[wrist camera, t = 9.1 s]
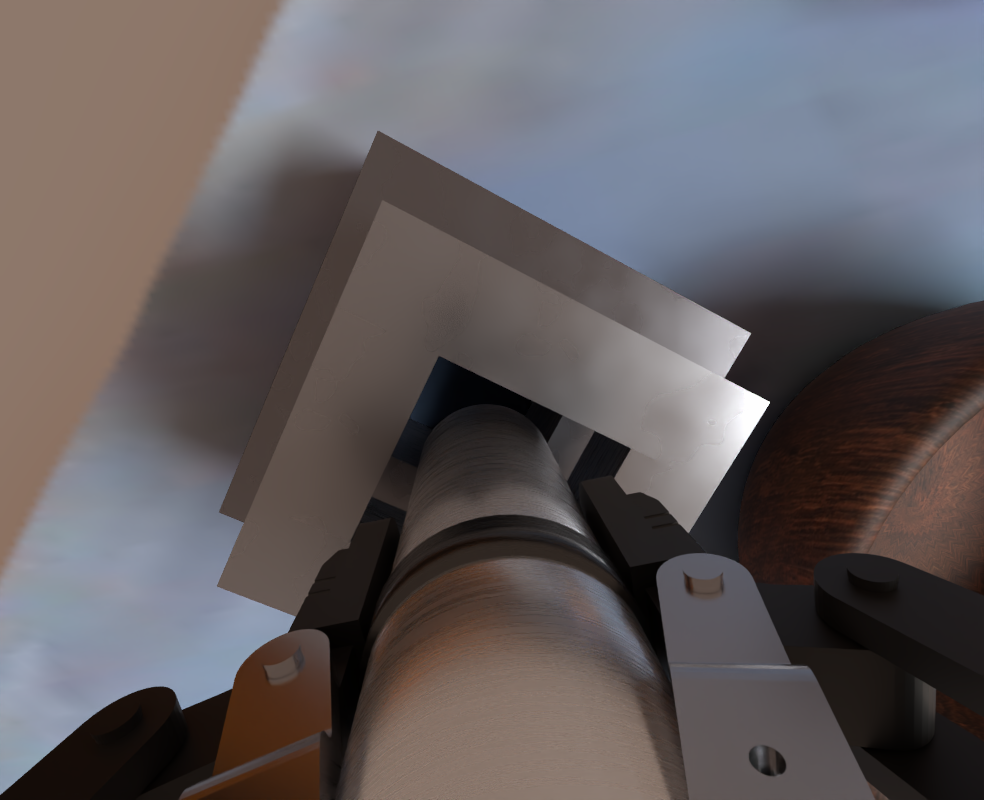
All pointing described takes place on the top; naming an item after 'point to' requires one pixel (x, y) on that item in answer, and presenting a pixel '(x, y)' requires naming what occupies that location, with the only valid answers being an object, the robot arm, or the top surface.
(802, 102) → the top surface
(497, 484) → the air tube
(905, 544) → the wooden bowl
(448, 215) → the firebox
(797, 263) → the top surface
